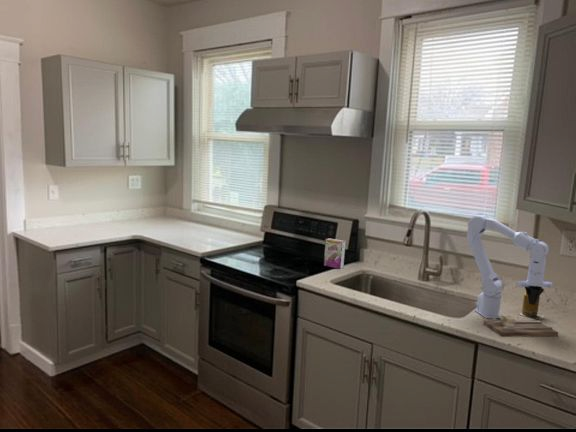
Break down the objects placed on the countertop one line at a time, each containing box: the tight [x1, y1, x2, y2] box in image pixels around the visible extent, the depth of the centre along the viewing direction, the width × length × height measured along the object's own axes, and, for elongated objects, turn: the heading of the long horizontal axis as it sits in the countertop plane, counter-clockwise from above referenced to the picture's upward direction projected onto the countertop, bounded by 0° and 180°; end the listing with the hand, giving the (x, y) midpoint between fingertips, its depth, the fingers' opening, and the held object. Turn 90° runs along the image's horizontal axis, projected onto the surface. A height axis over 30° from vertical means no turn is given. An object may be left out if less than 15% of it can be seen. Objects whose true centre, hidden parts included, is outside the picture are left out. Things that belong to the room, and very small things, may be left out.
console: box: [483, 320, 559, 337], centre depth 176 cm, size 12×24×2 cm, turn 98°
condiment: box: [519, 291, 545, 320], centre depth 193 cm, size 7×8×12 cm
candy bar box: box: [323, 238, 346, 270], centre depth 259 cm, size 11×5×16 cm, turn 59°
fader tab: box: [499, 314, 516, 327], centre depth 174 cm, size 4×3×4 cm
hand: (531, 304), depth 179 cm, fingers closed
